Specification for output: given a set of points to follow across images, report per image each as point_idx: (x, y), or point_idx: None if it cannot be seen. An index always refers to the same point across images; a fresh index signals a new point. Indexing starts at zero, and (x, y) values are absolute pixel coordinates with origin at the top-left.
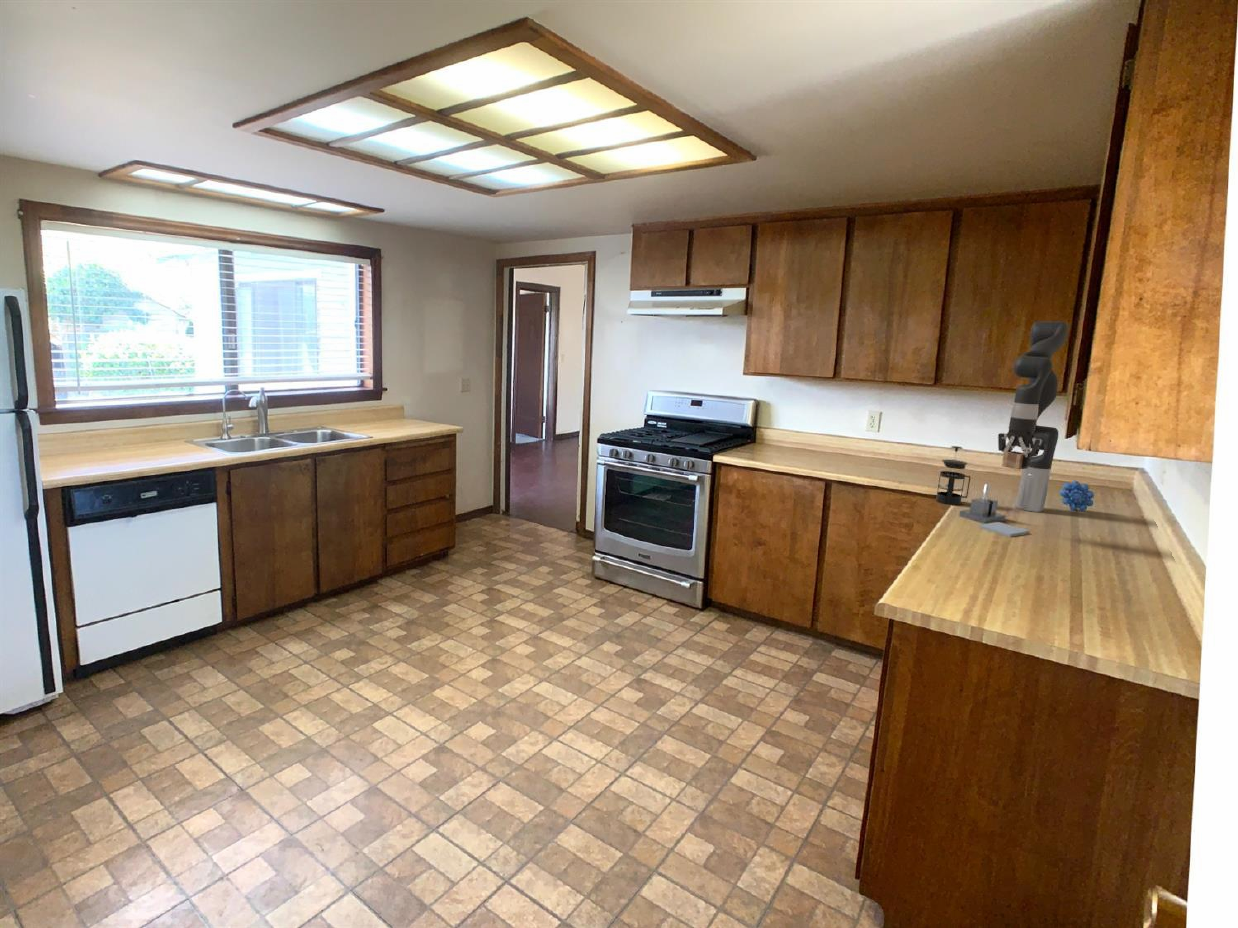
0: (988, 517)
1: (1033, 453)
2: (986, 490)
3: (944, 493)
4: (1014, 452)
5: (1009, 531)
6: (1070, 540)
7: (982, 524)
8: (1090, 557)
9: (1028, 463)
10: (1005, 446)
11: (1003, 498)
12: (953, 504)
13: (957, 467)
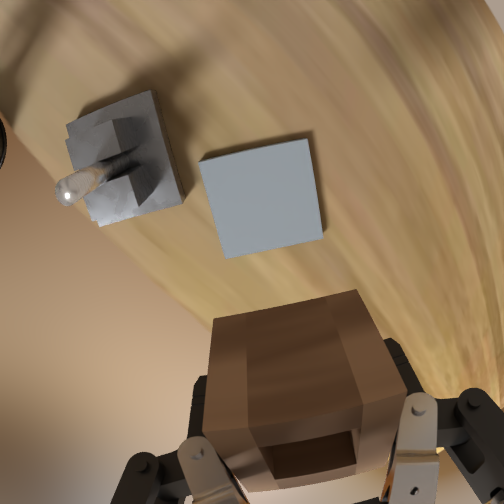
0: (174, 185)
1: (470, 442)
2: (89, 192)
3: None
4: (261, 451)
5: (302, 218)
6: (383, 69)
7: (222, 245)
8: (476, 174)
9: (404, 365)
10: (154, 493)
11: None
12: (5, 150)
13: None
